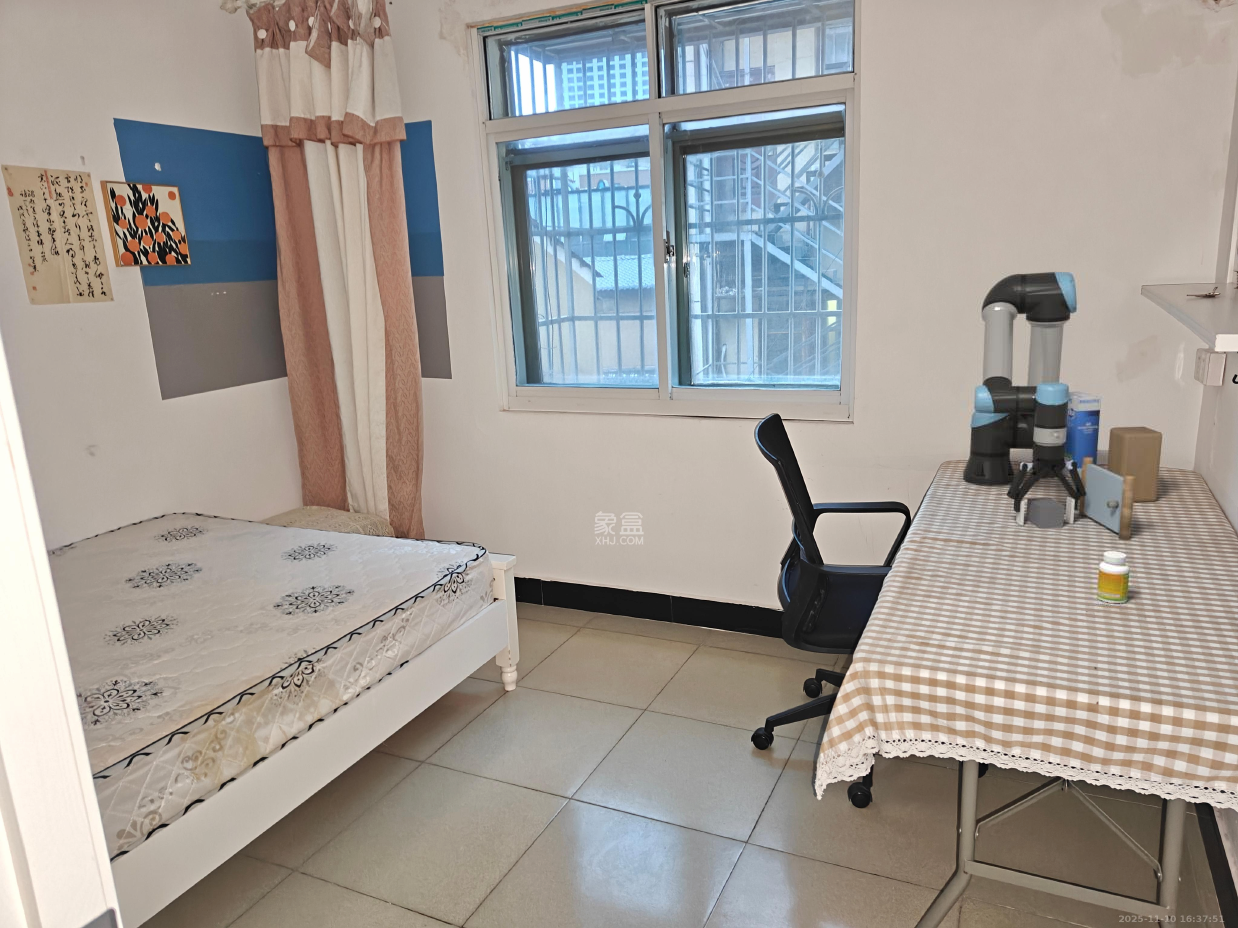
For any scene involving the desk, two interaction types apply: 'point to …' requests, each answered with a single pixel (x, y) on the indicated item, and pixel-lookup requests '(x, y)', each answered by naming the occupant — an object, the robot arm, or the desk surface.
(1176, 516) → the desk surface
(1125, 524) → the door frame
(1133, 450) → the wooden block
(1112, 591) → the supplement bottle
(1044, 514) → the block
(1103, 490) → the door
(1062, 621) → the desk surface
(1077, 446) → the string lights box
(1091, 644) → the desk surface
